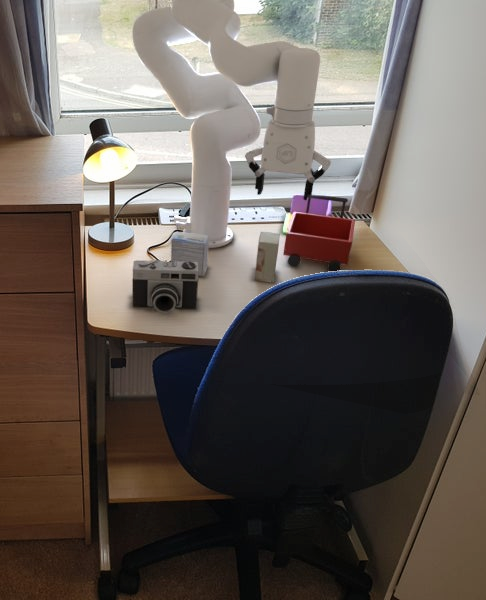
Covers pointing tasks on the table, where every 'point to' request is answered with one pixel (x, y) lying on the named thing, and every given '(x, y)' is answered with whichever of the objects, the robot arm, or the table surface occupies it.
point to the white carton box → (267, 256)
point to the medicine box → (190, 249)
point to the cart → (319, 236)
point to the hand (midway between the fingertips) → (282, 195)
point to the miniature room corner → (301, 205)
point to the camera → (165, 285)
